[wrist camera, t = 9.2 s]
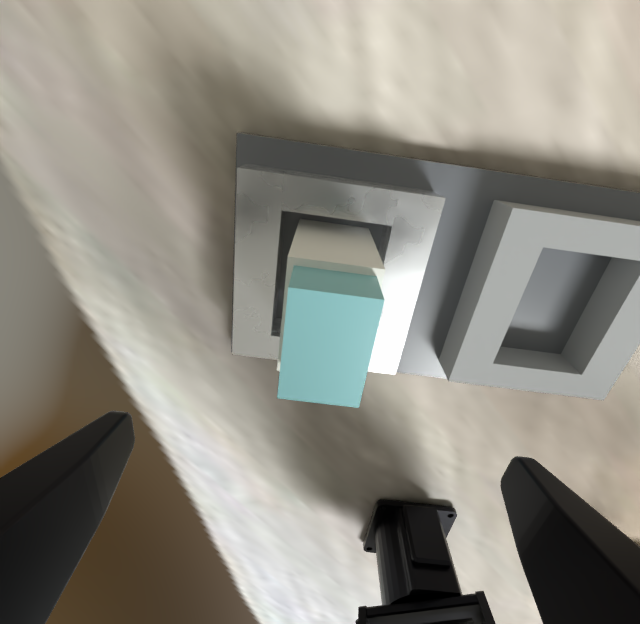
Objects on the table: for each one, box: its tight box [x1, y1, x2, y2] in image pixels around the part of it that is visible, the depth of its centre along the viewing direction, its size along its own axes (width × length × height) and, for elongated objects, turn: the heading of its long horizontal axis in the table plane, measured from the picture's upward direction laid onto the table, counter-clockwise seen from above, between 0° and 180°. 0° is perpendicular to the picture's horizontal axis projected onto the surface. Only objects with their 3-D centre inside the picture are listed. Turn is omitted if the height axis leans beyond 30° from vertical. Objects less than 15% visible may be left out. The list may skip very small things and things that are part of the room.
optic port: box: [232, 164, 446, 375], centre depth 18 cm, size 9×10×2 cm
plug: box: [277, 219, 385, 408], centre depth 16 cm, size 4×5×8 cm
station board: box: [231, 133, 640, 379], centre depth 20 cm, size 22×12×1 cm, turn 82°
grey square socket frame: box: [439, 200, 640, 400], centre depth 19 cm, size 9×10×2 cm
